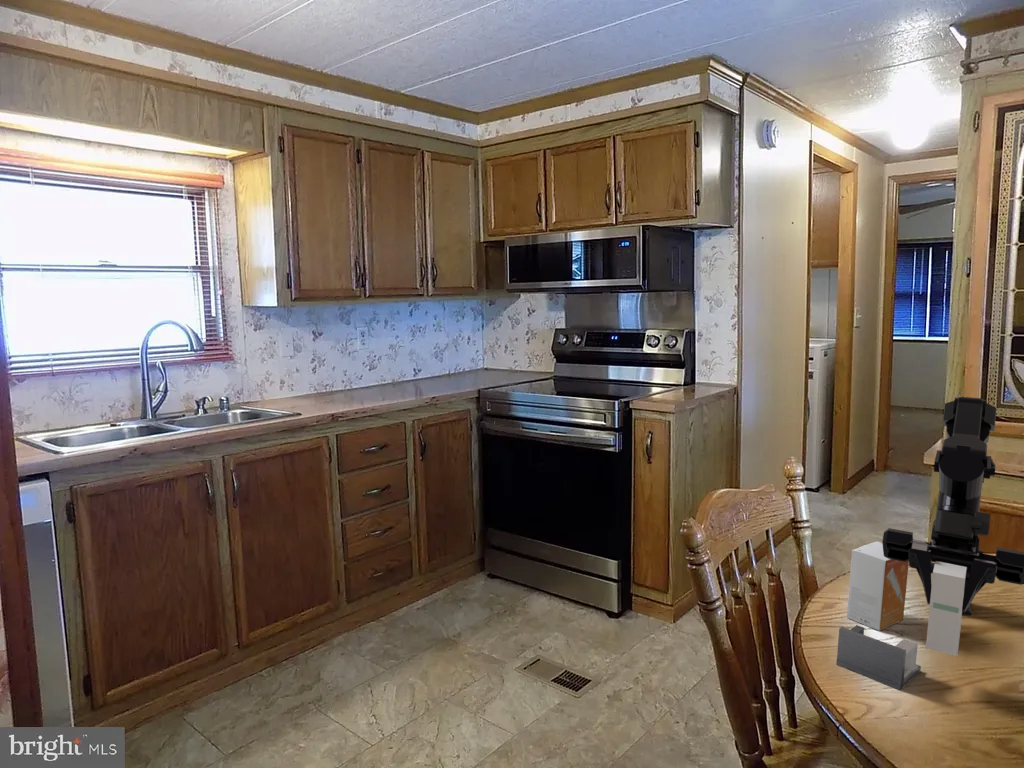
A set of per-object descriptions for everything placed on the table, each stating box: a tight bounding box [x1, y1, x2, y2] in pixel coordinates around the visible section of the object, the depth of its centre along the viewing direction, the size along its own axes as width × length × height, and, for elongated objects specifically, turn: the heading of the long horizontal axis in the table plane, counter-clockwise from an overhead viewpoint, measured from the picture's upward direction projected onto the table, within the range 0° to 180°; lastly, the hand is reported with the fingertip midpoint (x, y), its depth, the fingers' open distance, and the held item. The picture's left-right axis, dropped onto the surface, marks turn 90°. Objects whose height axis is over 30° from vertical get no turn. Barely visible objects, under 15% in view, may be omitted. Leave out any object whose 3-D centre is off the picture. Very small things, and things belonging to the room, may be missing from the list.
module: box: [925, 561, 967, 657], centre depth 105 cm, size 5×4×12 cm
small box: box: [846, 540, 909, 632], centre depth 126 cm, size 8×6×13 cm
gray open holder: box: [836, 624, 922, 691], centre depth 111 cm, size 8×10×6 cm
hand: (945, 607), depth 104 cm, fingers closed on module, 4 cm apart
